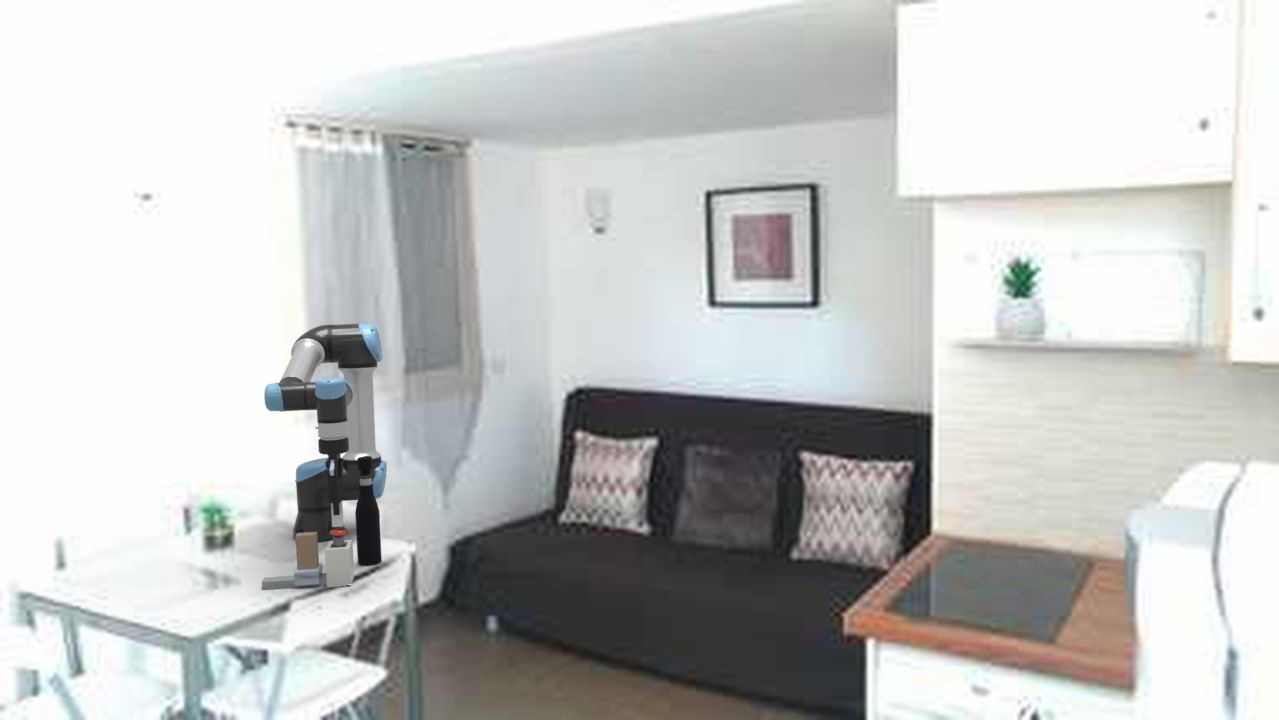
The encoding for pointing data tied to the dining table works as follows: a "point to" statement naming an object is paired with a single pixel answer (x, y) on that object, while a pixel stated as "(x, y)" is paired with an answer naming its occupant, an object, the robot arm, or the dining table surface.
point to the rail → (288, 582)
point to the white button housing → (339, 564)
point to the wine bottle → (367, 518)
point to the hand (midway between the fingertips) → (337, 525)
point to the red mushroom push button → (338, 537)
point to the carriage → (307, 559)
